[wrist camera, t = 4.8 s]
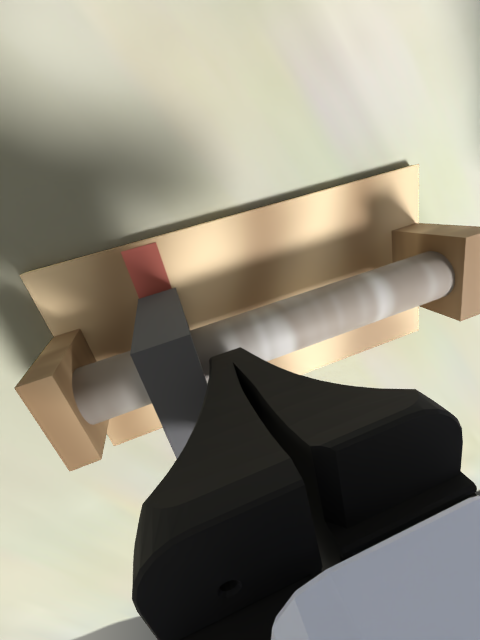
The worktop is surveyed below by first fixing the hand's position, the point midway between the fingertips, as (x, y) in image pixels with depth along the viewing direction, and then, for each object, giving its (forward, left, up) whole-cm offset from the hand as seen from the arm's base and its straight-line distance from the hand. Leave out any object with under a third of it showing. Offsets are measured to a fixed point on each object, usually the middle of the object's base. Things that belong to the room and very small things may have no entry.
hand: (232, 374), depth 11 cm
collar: (+2, 0, -6) cm, 6 cm away
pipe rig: (-3, 0, -6) cm, 6 cm away
